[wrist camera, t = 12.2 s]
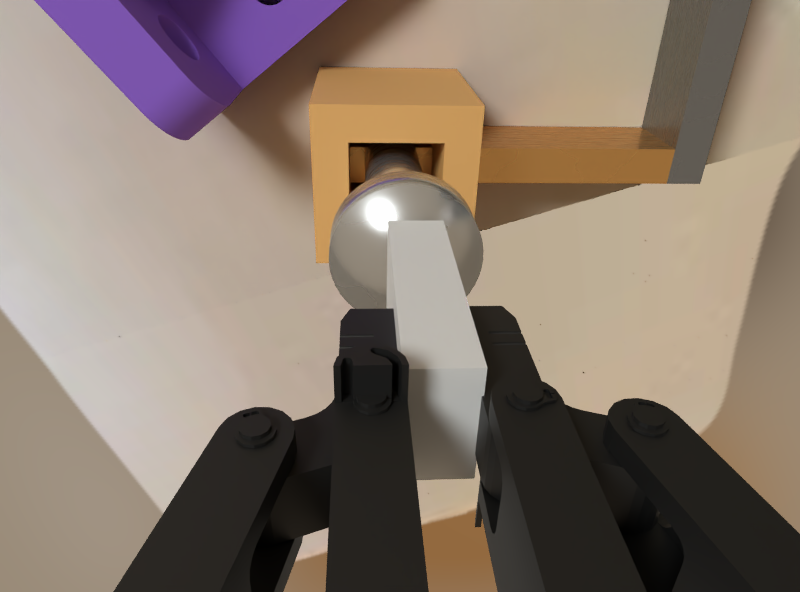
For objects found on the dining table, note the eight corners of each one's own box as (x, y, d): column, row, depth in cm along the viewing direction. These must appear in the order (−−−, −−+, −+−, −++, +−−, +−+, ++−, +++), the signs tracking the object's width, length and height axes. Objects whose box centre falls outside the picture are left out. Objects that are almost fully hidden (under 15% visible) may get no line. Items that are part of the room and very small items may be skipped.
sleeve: (456, 68, 27) (484, 106, 21) (447, 197, 30) (470, 262, 24) (319, 66, 27) (308, 104, 21) (324, 197, 30) (316, 263, 24)
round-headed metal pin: (447, 105, 24) (490, 185, 17) (441, 209, 27) (476, 323, 19) (336, 104, 24) (325, 185, 16) (338, 209, 26) (331, 325, 18)
